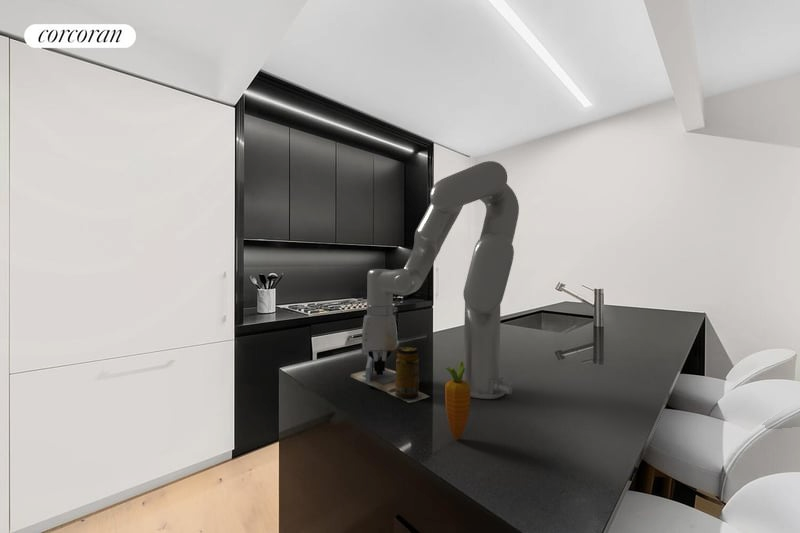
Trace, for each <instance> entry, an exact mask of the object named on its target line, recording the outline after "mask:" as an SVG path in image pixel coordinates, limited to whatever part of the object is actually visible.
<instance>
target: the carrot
mask: <svg viewBox="0 0 800 533" xmlns="http://www.w3.org/2000/svg"><path fill="white" fill-rule="evenodd" d="M445 369H446V371H448V372H449V374H450V376H451V377H452V379H451V380H449V381H447V382H446V383H445V385H444V390H445V393H444V396H445V398H444V400H445V401H444V402H445V403H444V404H445V412H446V417H447V421H448V422H447V423H448V425H449V429H450V432H451V434H452V436H453V438H454V440H456V441H458V440H459V439H460V438H461V436H462V435H463V433H464V431H465V428H466V427H467V423H468V419H469V414H470V406H471V405H470V404H471V397H470V386H469V385H468V383H467V382H466V381H463V376H464V371H465V367H464V361H461V360H460V361H458V370H457V371H456V369H455V367H454V366H452V367H450V366H446V367H445Z"/></svg>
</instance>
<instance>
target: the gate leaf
mask: <svg viewBox="0 0 800 533" xmlns="http://www.w3.org/2000/svg"><path fill="white" fill-rule="evenodd" d="M365 370H366V383H365V384H366V385H368V384H369V382H370V378H371V373H372V358H371V357H369V358H368V362H366V366H365Z"/></svg>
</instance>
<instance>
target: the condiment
mask: <svg viewBox="0 0 800 533" xmlns="http://www.w3.org/2000/svg"><path fill="white" fill-rule="evenodd" d="M397 350H398V352H397V353H396V356H397V357H396V360H395V371H396V386H395V391H392V392H388V393H387V394H389V395H391V396H393V397H395V398H397V399H400V400H402V401H404V402H407V403H409V404H410V403H415V402H418V401H421V400H423V399H427V398H430V397H431V396H429V395H427V394H426V393H423V392H421V391H419V383H418V379H419V373H420V372H419V371H420V366H419V365H420V360H419V358H418V357H419V356H418V352H419V351H418V349H417V347H413V346H401V347H399V348H397ZM419 380H420V379H419Z"/></svg>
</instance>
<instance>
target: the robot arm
mask: <svg viewBox="0 0 800 533" xmlns="http://www.w3.org/2000/svg"><path fill="white" fill-rule="evenodd" d="M429 197H430V204H429V205H428V207H427V209H426V211H425V213H424V215H423V216H422V218H421V220H420V222H419V224H418V226H417V228H416V229H415V232H414V237H413V238H414V241H413V242H414V243H413V248H412V251H411V254H410V255H409V257H408V260H407V261H406V264H405V266H404V267H403V268H399V269H398V268H397V269H385V268H375V269H374V268H372V269H369V270H368V272H367V277H366V278H367V279H366V280H367V281H366V284H367V285H366V287H367V291H366V292H367V293H366V296H367V298H366V299H367V300H366V314H365V315H364V316H363V323H362V329H361V330H362V332H361V333H362V334H361V349H360V350H361V352H360V353H361V355H364V356H367V355H369V356H370V357H371V358H372V359H373V360H374V371H376V373H377V375H383V371H385V368H386V361H387V359H388V358H389V357H390V356H391V355H394V354H398V330H397V321H396V316H395V314H394V313H396V312H398V307H397V306H394V302H393V300H394V299H393V298H394V295H397V296H408V295H411V294H413V293H415V292H417V291H418V290H420V288H421V287H422V286H423V283H424V282H425V280H426V278H427V276H428V274H429V272H430V271H431V269H432V267H433V265H434V263H435V261H436V259H437V257H438V255H439V253H440V252H441V248H442V247H443V244H444V242H445V241H446V238H447V237H448V235H449V233H450V231H451V229H452V227H453V225H454V224H455V222H456V220H457V219H458V217H459V215H460V213H461V212H462V209H463V206H466V205H468V204H471V203H474V202H477V201H481V202H482V203H483V204H484V205H485V216H484V219H483V226H482V230H481V233H480V236H479V239H478V240H477V242H476V244H475V246H474V249H473V252H472V256H471V261H470V264H469V267H468V268H469V269H468V273H467V276H466V279H465V280H466V281H465V283H464V288H463V293H462V294H463V299H464V300H463V301H464V324H463V325H464V329H463V330H464V332H463V334H464V335H463V363H464V367H465V371H464V373H463V376H462V380H463V381H466V382H467V383H468V385H469V386H470V398H474V399H481V400H493V399H499V398H501V397H503V396H504V395H505V394H507V395H512V393H513V384H512V383H508V382H505V381H504V376H503V375H501V374H500V364H501V362H500V360H501V358H500V357H501V353H500V352H501V304H502V302H503V298H504V295H505V292H506V288H507V284H508V281H509V277H510V274H511V270H512V266H513V262H514V261H513V260H514V255H515V250H514V249H515V248H514V246H513V242H514V237H515V233H516V229H517V224H518V219H519V214H520V213H519V212H520V207H519V206H520V204H519V200H518V198H517V195H516V193H515V191H514V190H513V188H512V187H510V186H509V185H508V172H507V170H506V168H505V167H504V166H503V165H502V164H501V163H499V162H497V161H494V160H489V161H483V162H480V163H477V164H474V165H471V167H467V168H465V169H462V170H460V171H458V172H455V173H453V174H451V175H448V176H445V177H443V178H441V179H440V180H437V182H436V183H435V184H434V185H433V186H432V187H431V190H430V193H429ZM380 351H381V354H380V357H378V356H379V355H378V352H380Z"/></svg>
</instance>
